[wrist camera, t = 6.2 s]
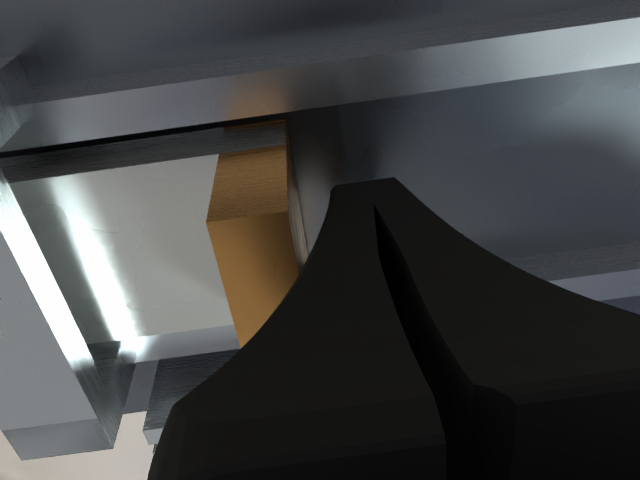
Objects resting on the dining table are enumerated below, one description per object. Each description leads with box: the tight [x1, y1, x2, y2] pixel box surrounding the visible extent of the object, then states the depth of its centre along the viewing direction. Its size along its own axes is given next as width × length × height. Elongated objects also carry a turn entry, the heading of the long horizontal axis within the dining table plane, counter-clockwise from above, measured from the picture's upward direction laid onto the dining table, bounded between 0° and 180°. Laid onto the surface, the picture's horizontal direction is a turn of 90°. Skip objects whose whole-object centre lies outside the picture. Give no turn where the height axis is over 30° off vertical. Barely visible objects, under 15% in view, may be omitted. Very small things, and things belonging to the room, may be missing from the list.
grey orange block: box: [0, 119, 308, 348], centre depth 11 cm, size 8×4×4 cm, turn 97°
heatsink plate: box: [0, 0, 640, 460], centre depth 12 cm, size 16×12×4 cm
